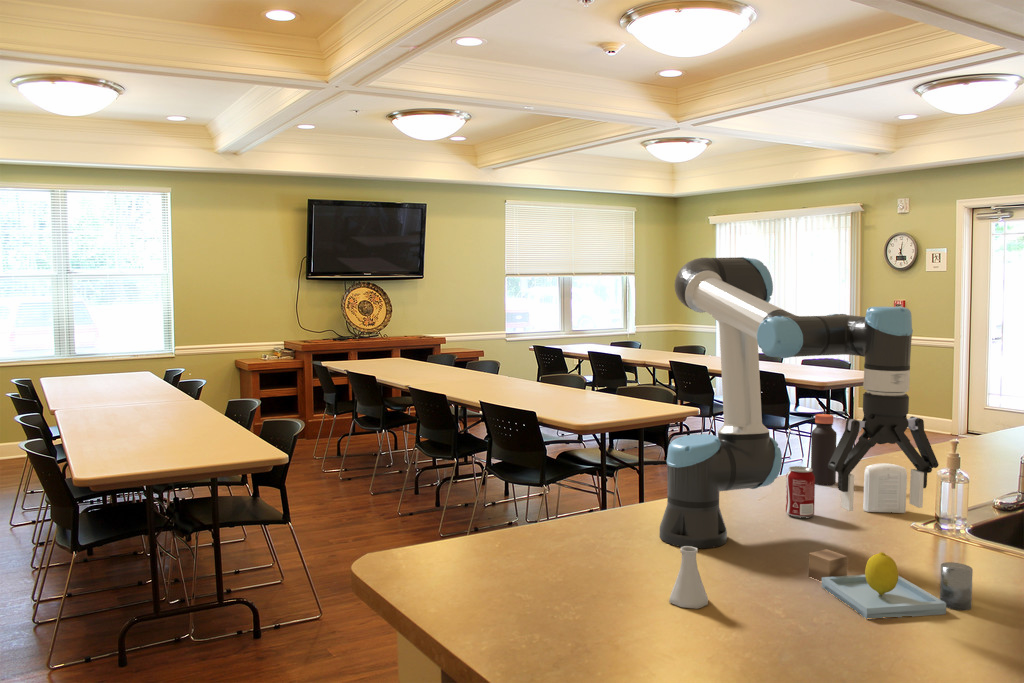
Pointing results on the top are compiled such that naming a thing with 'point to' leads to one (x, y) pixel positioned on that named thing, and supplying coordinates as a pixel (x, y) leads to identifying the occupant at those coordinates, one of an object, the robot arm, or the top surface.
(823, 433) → the bottle
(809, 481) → the soda can
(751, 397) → the robot arm
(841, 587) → the dish
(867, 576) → the lemon
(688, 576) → the flask
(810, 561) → the walnut block
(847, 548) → the top surface
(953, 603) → the grey tin
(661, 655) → the top surface
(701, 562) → the top surface
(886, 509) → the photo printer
